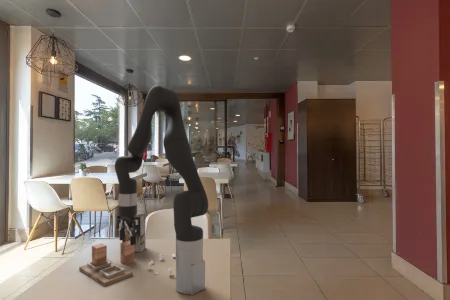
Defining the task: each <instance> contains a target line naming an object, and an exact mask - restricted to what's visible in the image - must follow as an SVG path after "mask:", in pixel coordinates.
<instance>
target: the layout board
mask: <svg viewBox="0 0 450 300" xmlns="http://www.w3.org/2000/svg"><path fill="white" fill-rule="evenodd" d="M107 254H108V253H107V245H106V244H104V243H98V244H94V245H91V261H90V262H87V264H84V265H81V266H79V267H78V268H79V270H78V271H80V272H81V273H83V274H85V275H86V276H88V277H89V278H90V279H92V280H94V281H96V282H97V283H99V284H101V285H102V286H103V287H106V286H108V285H111V284H114V283H116V282H118V281H119V282H120V281H121V280H125V279H128V278H130V277H132V276H134V272H133V271H132V270H130V269H127V268H125V267H123V266H121V265H120V264H117V262H114V261H112V260H110V259H108V258H107V256H108V255H107Z"/></svg>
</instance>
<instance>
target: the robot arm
mask: <svg viewBox="0 0 450 300" xmlns="http://www.w3.org/2000/svg"><path fill="white" fill-rule="evenodd" d="M179 98H180V97H179V95H178V94H177V92H176V91H175V90H173V89H171V88H168V87H164V86H162V85H153V86H152V87H151V88H150V89H149V91H148V92H147V95H146V98H145V101H144V104H143V106H142V110H141V112H140V116H139V119H138V123H137V126H136V129H135V130H134V133H133V134H132V137H131V139H130V140H129V142H128V145H127V151H128V153H129V154H130V155H122V156H119V157H117V158H116V160H115V163H114V170H115V171H114V172H115V173H116V178H117V181H118V198H117V200H118V202H117V204H118V205H117V212H118V213H117V215H116V223H115V225H116V226H115V227H116V229H117V230H118V232H119V241H122V240H125V231H124V230H125V229H127V230H128V232H130V235H131V236H130V244H131V245H135V244H136V235H139V234H140V224H139V220H135V218H134V216H135V215H136V214H138V192H137V190H138V188H137V187H138V186H137V185H138V184H137V180H136V179H135V178H132V177H131V176H130V174H131V173H135V172H138V171H139V170H140V169H141V167H142V165H143V160H144V154H145V152H146V150H147V148H148V146H149V144H150V143H151V139H152V137H153V136H152V133H153V132H152V122H153V121H152V120H153V117H154V115H155V113H156V112H157V111H159V112H163V113H164V115H165V117H166V121H167V128H166V131H165V133H164V137H163V140H162V141H163V142H162V143H163V148H164V152H165V156H166V159H167V161H168V163H169V165H170V166H172V168H173V169H174V170H175V171H176V172H177V173H178V174H179V175H180V177H181V178H182V179H183V181H184V183H185V185H186V188H187V190H182V191H178V192H177V193H175V196H174V198H173V206H172V207H173V227H174V232H175V254H176V257H175V290H176V292H178V293H180V294H183V295H190V296H193V295H195V294H197V293H199V292H200V291H203V290H204V289H206V260H204V229H203V228H202V227H200V226H199V225H198V226H197V225H193V224H192V218H197V217H200V216H201V217H202V216H204V215H206V214H207V212H208V210H209V199H208V196H207V192H206V190H205V187H204V185H203V182H202V180H201V178H200V177H201V176H200V175H199V172H198V169H197V166H196V163H195V160H194V156H193V152H192V148H191V146H190V142H189V138H188V135H187V132H186V127H185V124H184V119H183V116H182V109H181V103H180V99H179ZM132 227H133V228H132ZM136 229H137V231H136ZM132 231H133V233H132Z"/></svg>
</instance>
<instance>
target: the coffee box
mask: <svg viewBox="0 0 450 300" xmlns="http://www.w3.org/2000/svg"><path fill="white" fill-rule="evenodd" d="M134 218H135V220H139V224H140V234H139V235H136V244H135V245H134V253H139V252H140V253H141V252H142V251H144V250H145V249H146V247H147V246H146V213H137V214H136V215H135V216H134ZM132 228H133V227H132ZM124 231H125V240H121V241H122V242H121V243H123V242H126V241H130V236H131V235H130V232H128V230H127V229H125V230H124ZM136 231H137V229H136ZM132 233H133V231H132Z"/></svg>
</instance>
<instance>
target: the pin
mask: <svg viewBox="0 0 450 300" xmlns="http://www.w3.org/2000/svg"><path fill="white" fill-rule="evenodd" d="M119 257H120V263H121V264H123V265H129V264H132V263H135V252H134V245H131V244H130V241H126V242H123V243H122V242H120V255H119Z"/></svg>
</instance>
